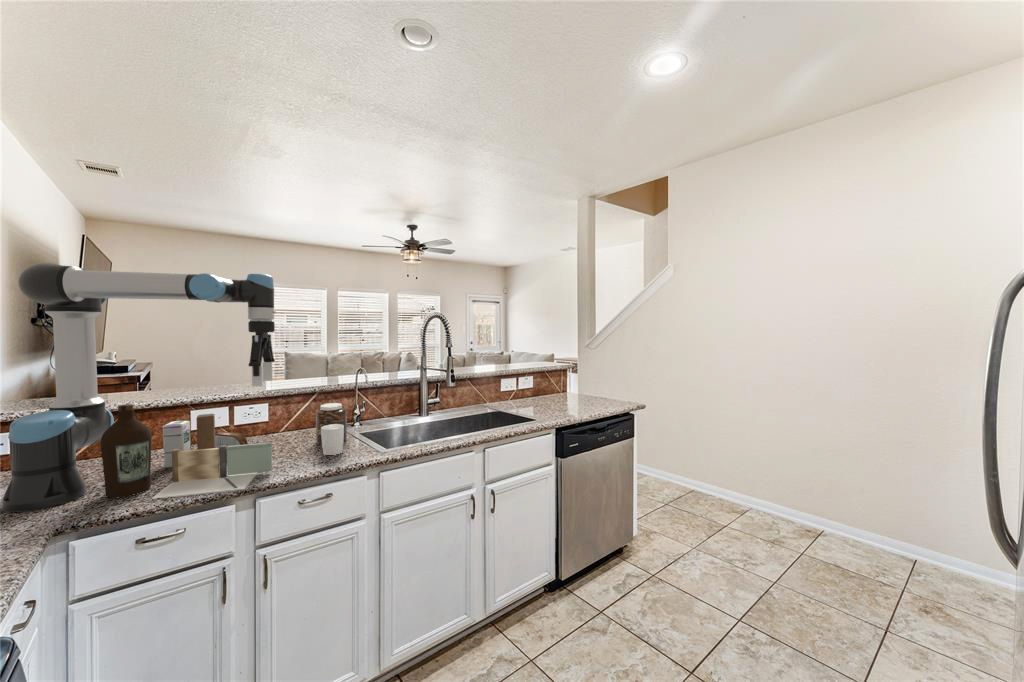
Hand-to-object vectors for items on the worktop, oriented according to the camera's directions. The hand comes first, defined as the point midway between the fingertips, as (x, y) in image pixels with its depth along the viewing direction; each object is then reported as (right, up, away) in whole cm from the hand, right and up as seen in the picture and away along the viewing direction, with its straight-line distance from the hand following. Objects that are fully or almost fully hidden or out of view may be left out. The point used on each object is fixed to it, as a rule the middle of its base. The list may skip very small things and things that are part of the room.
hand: (262, 383), depth 138 cm
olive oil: (-25, -29, -21) cm, 44 cm away
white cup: (+18, -28, +14) cm, 36 cm away
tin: (-19, -28, +11) cm, 36 cm away
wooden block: (-18, -28, -4) cm, 34 cm away
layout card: (-6, -29, -16) cm, 33 cm away
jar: (+10, -27, +30) cm, 41 cm away
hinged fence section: (+1, -28, -8) cm, 29 cm away
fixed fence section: (-12, -28, -12) cm, 33 cm away
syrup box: (-30, -28, +1) cm, 41 cm away
